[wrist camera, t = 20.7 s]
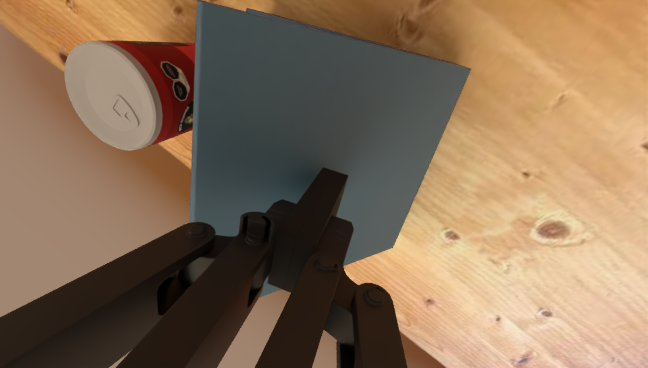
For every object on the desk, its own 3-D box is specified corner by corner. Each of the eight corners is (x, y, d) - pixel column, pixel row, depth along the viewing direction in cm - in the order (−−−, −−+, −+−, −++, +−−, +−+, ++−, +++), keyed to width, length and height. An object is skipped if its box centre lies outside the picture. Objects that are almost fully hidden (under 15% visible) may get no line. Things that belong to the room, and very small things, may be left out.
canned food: (220, 134, 33) (143, 170, 24) (160, 93, 33) (57, 112, 24) (247, 73, 30) (168, 85, 20) (179, 26, 30) (68, 16, 20)
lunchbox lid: (186, 315, 17) (189, 324, 17) (196, -1, 10) (201, 1, 10) (388, 243, 28) (393, 247, 28) (464, 66, 21) (471, 68, 20)
